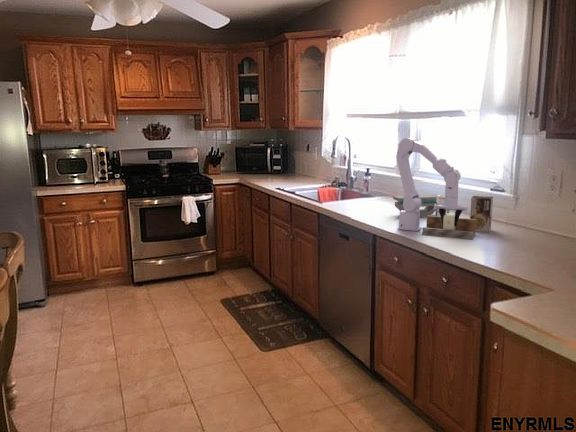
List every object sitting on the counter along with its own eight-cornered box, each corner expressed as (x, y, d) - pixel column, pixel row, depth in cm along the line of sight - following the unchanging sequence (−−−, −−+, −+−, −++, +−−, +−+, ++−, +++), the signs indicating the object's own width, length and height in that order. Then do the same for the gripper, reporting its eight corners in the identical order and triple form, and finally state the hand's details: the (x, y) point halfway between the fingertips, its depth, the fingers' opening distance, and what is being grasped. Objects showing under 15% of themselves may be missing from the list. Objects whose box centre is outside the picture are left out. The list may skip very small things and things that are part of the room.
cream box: (442, 230, 217) (443, 216, 216) (445, 227, 223) (446, 213, 221) (453, 231, 215) (453, 216, 214) (455, 228, 221) (456, 214, 219)
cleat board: (421, 234, 219) (422, 219, 217) (426, 229, 229) (427, 215, 227) (472, 239, 209) (473, 224, 207) (475, 234, 219) (476, 219, 217)
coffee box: (491, 229, 227) (493, 196, 224) (489, 232, 222) (491, 198, 219) (471, 227, 232) (473, 195, 229) (468, 230, 227) (471, 197, 223)
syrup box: (437, 221, 246) (438, 194, 243) (449, 222, 243) (450, 195, 240) (434, 223, 241) (436, 195, 238) (446, 225, 238) (448, 196, 235)
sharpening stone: (434, 213, 267) (435, 194, 264) (441, 216, 259) (442, 196, 257) (392, 215, 263) (393, 196, 261) (397, 218, 256) (398, 198, 254)
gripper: (433, 196, 216) (431, 225, 219) (466, 198, 210) (464, 228, 212) (436, 194, 222) (434, 222, 225) (468, 196, 216) (466, 225, 218)
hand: (449, 225), depth 219 cm, fingers closed on cream box, 5 cm apart
